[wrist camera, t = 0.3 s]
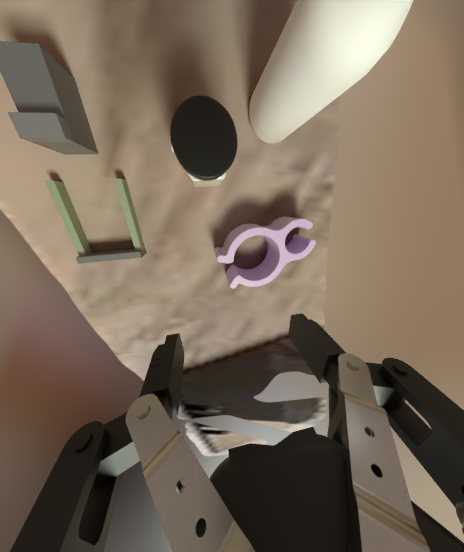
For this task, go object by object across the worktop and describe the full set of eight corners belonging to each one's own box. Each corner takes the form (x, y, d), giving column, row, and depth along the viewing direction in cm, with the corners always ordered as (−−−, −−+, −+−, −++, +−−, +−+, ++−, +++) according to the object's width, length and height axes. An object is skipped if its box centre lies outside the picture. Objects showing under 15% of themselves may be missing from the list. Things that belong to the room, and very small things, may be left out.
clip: (290, 202, 36) (308, 201, 30) (301, 251, 42) (318, 259, 36) (209, 239, 37) (210, 246, 30) (230, 283, 42) (235, 297, 36)
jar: (234, 172, 32) (251, 156, 21) (201, 197, 33) (201, 194, 22) (206, 121, 28) (209, 70, 17) (169, 151, 29) (151, 120, 18)
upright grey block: (36, 78, 23) (-33, 25, 16) (75, 79, 24) (24, 30, 17) (65, 154, 27) (19, 137, 20) (98, 154, 28) (65, 137, 21)
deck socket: (55, 182, 28) (39, 180, 25) (126, 180, 30) (118, 177, 27) (88, 258, 34) (78, 263, 31) (146, 253, 35) (141, 257, 33)
